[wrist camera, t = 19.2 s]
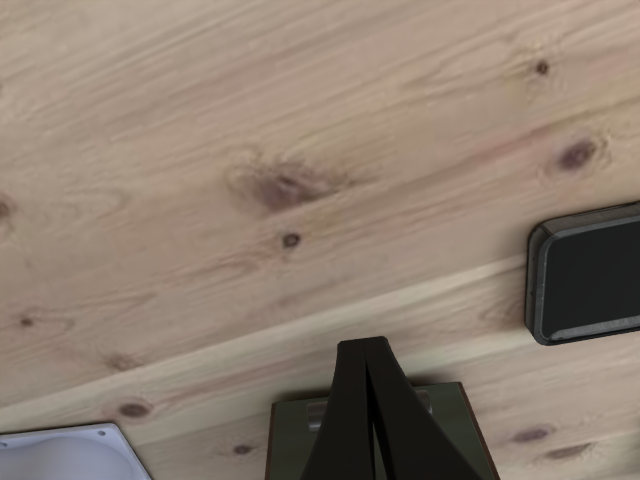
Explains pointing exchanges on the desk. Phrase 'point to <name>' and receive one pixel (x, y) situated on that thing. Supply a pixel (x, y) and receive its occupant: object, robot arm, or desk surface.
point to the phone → (584, 276)
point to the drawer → (306, 416)
